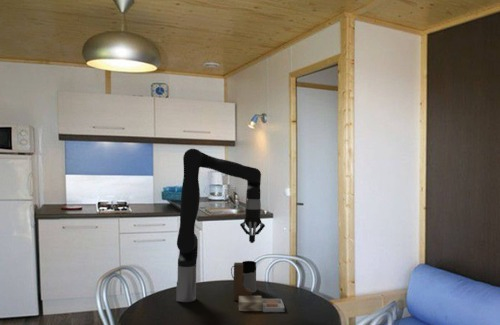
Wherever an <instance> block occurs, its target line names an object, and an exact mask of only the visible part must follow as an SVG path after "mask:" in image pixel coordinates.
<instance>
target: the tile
mask: <svg viewBox="0 0 500 325" xmlns="http://www.w3.org/2000/svg"><path fill="white" fill-rule="evenodd" d="M266 306H267V307H278V304H277V301H266Z"/></svg>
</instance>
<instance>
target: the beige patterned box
mask: <svg viewBox="0 0 500 325" xmlns="http://www.w3.org/2000/svg"><path fill="white" fill-rule="evenodd" d="M262 299H263V297H262V295H252V296H239V301H238V312H263V301H262Z"/></svg>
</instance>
